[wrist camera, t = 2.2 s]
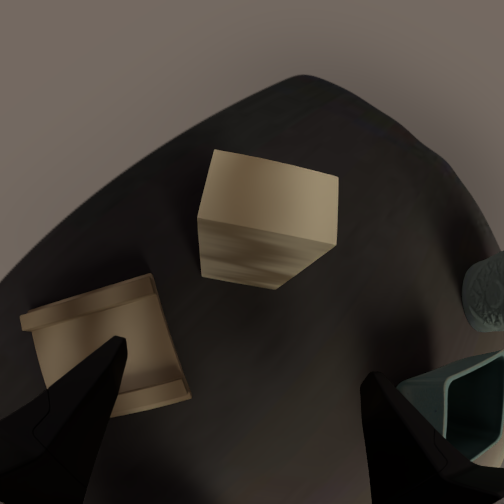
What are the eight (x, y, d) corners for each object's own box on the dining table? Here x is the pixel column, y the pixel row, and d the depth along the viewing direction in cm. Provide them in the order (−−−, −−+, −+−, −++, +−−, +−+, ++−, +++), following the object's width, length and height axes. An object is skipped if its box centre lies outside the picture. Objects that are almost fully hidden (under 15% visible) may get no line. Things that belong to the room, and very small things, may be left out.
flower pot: (442, 351, 24) (507, 347, 16) (442, 427, 22) (502, 439, 14) (376, 371, 23) (445, 378, 14) (377, 455, 21) (436, 486, 12)
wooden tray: (152, 275, 23) (147, 268, 20) (192, 395, 20) (190, 402, 18) (33, 312, 20) (18, 308, 18) (65, 422, 18) (52, 429, 15)
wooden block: (280, 249, 25) (338, 177, 13) (275, 289, 24) (336, 245, 12) (209, 235, 24) (214, 149, 13) (201, 276, 23) (197, 217, 12)
